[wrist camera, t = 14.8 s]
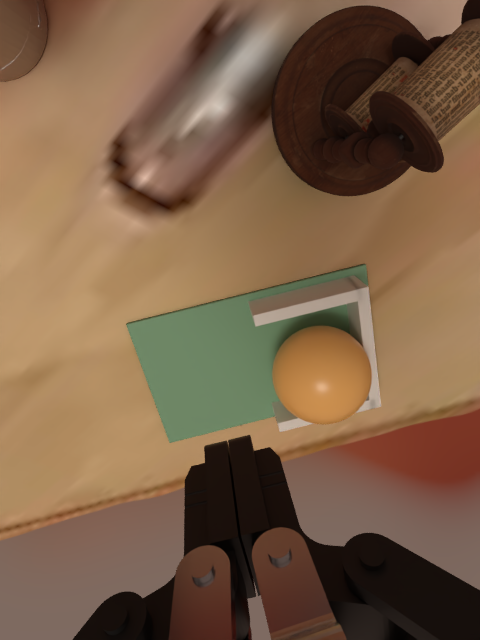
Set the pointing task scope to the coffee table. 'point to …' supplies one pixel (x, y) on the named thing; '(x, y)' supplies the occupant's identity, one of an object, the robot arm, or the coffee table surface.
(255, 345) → the felt strip
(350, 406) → the ball
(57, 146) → the coffee table surface
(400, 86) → the dark wooden ornament
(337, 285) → the white side walls
